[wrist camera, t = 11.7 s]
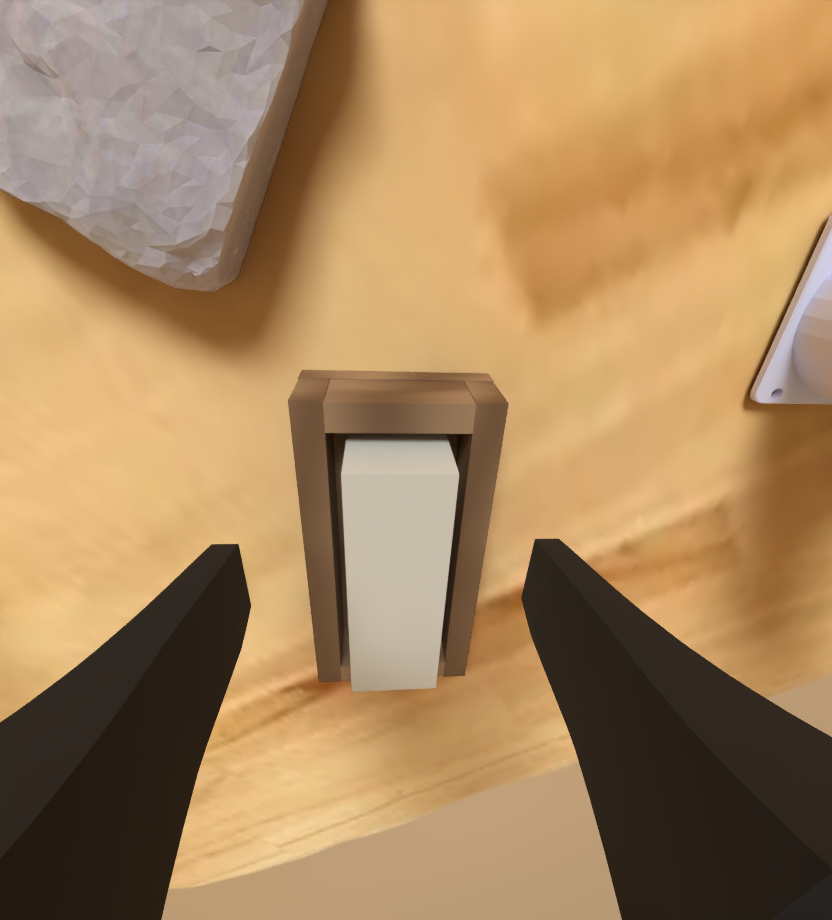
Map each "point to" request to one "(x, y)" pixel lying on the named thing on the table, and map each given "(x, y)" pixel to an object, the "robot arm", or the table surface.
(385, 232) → the table surface
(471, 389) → the shallow brown tray
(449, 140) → the table surface
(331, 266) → the table surface
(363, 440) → the rectangular block
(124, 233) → the stone block
